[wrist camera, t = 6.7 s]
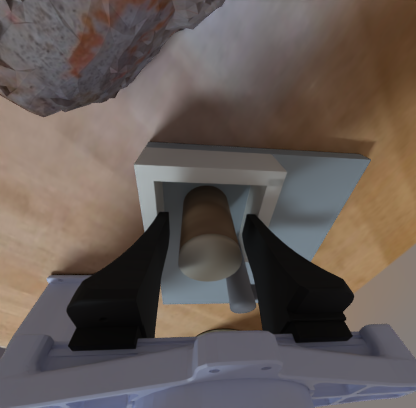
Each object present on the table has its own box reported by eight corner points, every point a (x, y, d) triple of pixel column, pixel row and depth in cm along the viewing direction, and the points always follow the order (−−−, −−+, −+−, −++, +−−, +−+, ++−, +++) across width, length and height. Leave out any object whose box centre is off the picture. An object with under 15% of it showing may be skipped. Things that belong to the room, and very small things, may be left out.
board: (164, 295, 26) (155, 361, 20) (148, 141, 14) (115, 192, 8) (283, 293, 28) (307, 354, 22) (360, 154, 16) (459, 204, 10)
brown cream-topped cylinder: (183, 221, 17) (178, 281, 12) (183, 184, 15) (177, 240, 10) (224, 222, 17) (236, 281, 13) (230, 186, 15) (247, 240, 10)
